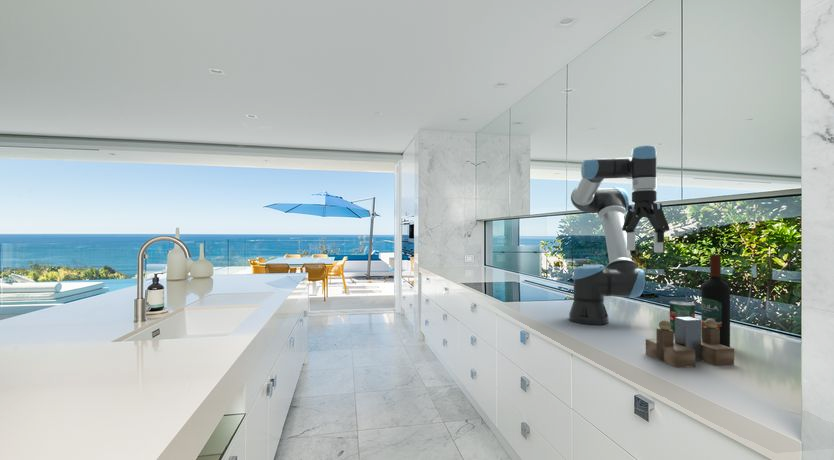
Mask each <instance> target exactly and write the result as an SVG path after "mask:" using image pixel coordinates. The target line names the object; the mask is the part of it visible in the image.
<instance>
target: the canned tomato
mask: <svg viewBox="0 0 834 460" xmlns="http://www.w3.org/2000/svg"><path fill="white" fill-rule="evenodd" d="M675 317H693V318H696V303H693V302H689V301H680V300H671V301H669V322H670V324H671V328H670V330H673V331H674V334H675Z"/></svg>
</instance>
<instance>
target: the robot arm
mask: <svg viewBox="0 0 834 460" xmlns="http://www.w3.org/2000/svg"><path fill="white" fill-rule="evenodd" d="M630 156H631V157H616V158H615V157H613V158H609V157H608V158H590V159H589V158H588V159H584V160H583V161H582V162H581V167H580V168H581V169H580V171H581V172H580V174H581V177H582V178H581V180H580V182H579V183H578V184H577V185H578V186H576V187H575V188H574V189H573V190H572V192H571V194H570V201H571V203H572V205H573V206H574V208H576V209H578V210H579V211H581V212H583V213H589V214H595V213H597V217H598V218H599V219H601V220H602V224H603V232H604V238H605V242H606V250H607V256H608V264H606V266H604V265H603V264H586V265H580V266H577V267H575V268H574V269H573V277H572V279H573V302H572V305H571V308H570V311H569V313H568V314H569V315H568V318H569V320H570V321H572V322H575V323H579V324H584V325H606V324H609V315H608V312H607V308H606V306H605V300H604V299H605V297H618V298H619V297H620V298H638V297H640V296H641V295H642V293H643V292H644V288H645V283H646V273H645V271H644V269H642V268H638V265H637V262H636V261H634V260H632V254H631V251H636V232H635V229H636V228H637V226H638V224H639V223H640V221H641V219H643V218H646V219H648V222H649V223H650V224H651V226H652V227H653V229H654V232H653V253H664V242H665V233H666V232H668V231H669V230H670V225H669V224H668V223H669V222H668V221H667V218H666V216H665V215H666V214H665V213H664V210H663V203H660V202H658V203H657V202H656V201H657V200H658V199H657V197H658V196H657V195H658V193H657V191H656V190H657V188H658V187H657V186H658V183H657V181H658V180H657V178H658V177H657V172H658V171H657V163H658V162H657V161H658V160H657V159H658V153H657V147H656V146H654V145H649V144H648V145H640V146H635V147H633V148H632V149H631V155H630ZM604 179H628V180H631V190H632V192H631V202H632V203H634V205H630V200H629V195H628V192H627V191H626V189H624V188H622V187H610V188H608V187H606V188H605V187H602V188H600V185H601V184H602V183H603V181H604ZM624 216H625V219H624Z"/></svg>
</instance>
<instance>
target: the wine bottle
mask: <svg viewBox="0 0 834 460" xmlns="http://www.w3.org/2000/svg"><path fill="white" fill-rule="evenodd" d="M709 255H710V256H709V260H710V261H709V262H710V263H709V266H710V267H709V268H710V269H709V273H710V274H709V275H710V276H709V279H708V280H706V281H704V282H703V283H702V284H701V290H700V291H701V293H700V294H701V295H700V296H701V309H700V311H701V312H700V313H701V319H700V320H701V338H702V327H706V326H705V320H707V319H714V320H715V321H716V322H717V327H716V328H719V329H720V344H721V345H724V346H727V347H730V348H731V288H730V286H729V285H728V283H726V282H725V281H724V280H723V279H722V276H721V274H722V272H721V267H722V266H721V264H722V263H721V262H722V261H721V260H722V256H721V254H709Z"/></svg>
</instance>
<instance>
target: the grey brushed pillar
mask: <svg viewBox="0 0 834 460" xmlns="http://www.w3.org/2000/svg"><path fill="white" fill-rule="evenodd" d="M674 343H676V344H679V345H682V346H685V347H687V348H690V349H693V350H695V362H702V360H701V319H699V318H696V317H695V318H693V317H675V333H674Z"/></svg>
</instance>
